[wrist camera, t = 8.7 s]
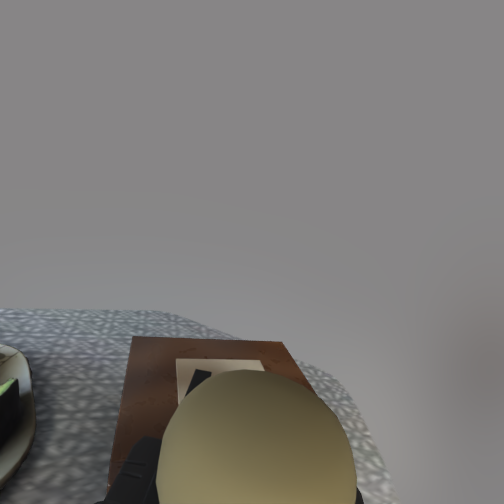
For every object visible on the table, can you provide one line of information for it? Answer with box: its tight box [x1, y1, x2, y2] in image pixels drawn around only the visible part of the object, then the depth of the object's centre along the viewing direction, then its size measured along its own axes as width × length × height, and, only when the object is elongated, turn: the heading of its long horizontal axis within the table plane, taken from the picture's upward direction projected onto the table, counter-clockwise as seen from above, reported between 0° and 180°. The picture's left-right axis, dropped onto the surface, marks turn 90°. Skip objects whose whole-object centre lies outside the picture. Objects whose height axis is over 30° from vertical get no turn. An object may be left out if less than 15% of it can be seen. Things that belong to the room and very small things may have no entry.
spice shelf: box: [106, 336, 317, 495], centre depth 23 cm, size 12×14×4 cm
